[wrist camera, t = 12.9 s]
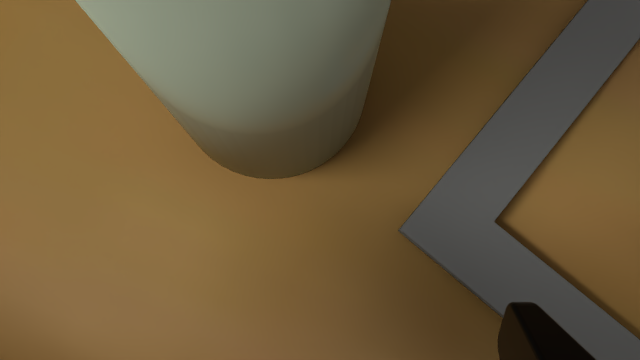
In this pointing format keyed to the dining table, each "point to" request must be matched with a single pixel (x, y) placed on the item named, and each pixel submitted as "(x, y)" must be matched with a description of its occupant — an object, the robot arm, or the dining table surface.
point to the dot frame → (513, 171)
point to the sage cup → (253, 72)
